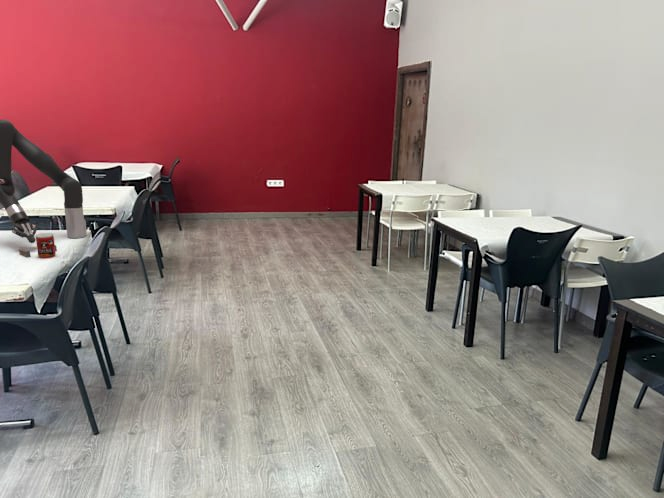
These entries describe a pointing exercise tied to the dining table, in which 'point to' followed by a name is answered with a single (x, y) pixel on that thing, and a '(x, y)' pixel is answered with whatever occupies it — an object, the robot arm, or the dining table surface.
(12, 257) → the dining table surface
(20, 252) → the channel walls
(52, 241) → the canned food
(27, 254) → the posts
